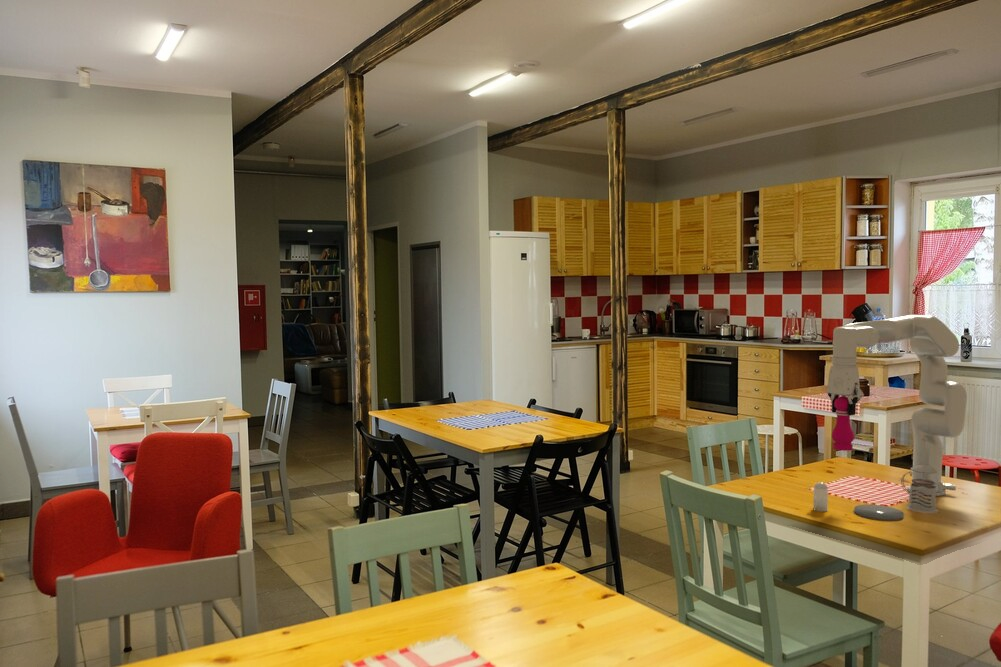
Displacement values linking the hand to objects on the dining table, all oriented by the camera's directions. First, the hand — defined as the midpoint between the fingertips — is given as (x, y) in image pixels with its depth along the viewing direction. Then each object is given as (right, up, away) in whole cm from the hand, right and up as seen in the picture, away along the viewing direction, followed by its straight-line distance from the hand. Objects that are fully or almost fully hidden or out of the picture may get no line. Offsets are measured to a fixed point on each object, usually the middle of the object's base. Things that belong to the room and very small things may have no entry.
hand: (843, 413), depth 268 cm
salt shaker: (-10, -33, -5) cm, 34 cm away
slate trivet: (+7, -33, -10) cm, 35 cm away
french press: (+25, -33, -3) cm, 41 cm away
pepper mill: (0, -13, +1) cm, 13 cm away
